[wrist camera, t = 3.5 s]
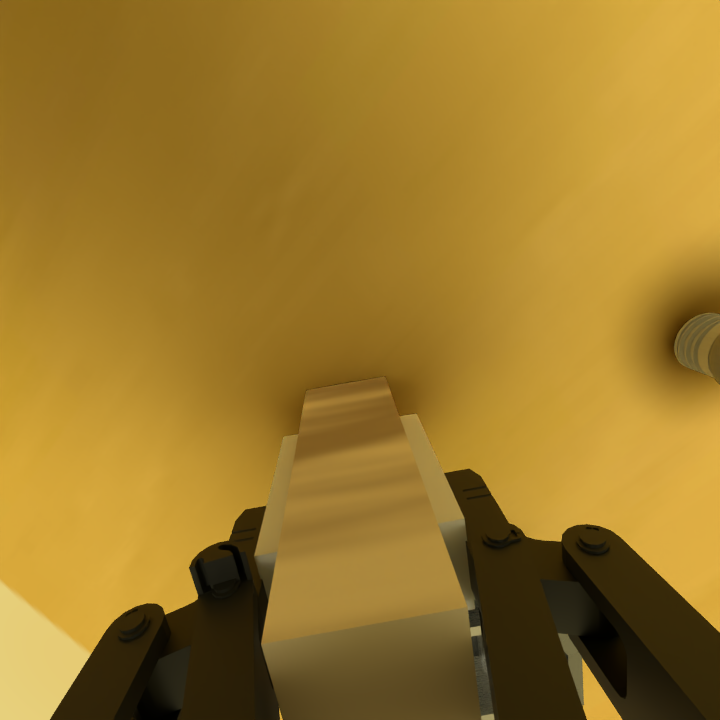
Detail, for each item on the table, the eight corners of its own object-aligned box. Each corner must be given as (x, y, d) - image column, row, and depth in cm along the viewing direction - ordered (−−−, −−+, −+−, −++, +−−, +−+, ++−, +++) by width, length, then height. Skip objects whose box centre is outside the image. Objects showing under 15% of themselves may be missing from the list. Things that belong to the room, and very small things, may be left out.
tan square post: (306, 390, 20) (260, 644, 8) (385, 376, 20) (467, 606, 8) (321, 461, 21) (302, 787, 9) (396, 448, 21) (485, 755, 9)
